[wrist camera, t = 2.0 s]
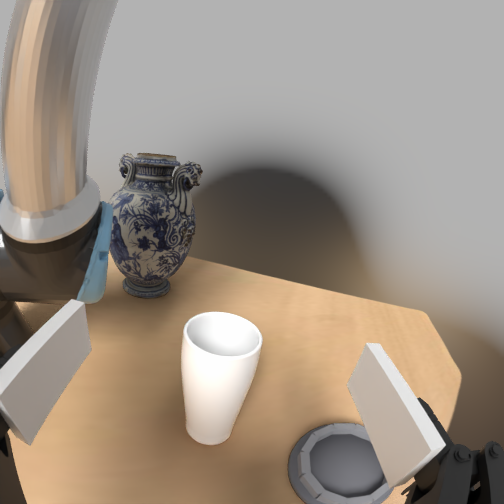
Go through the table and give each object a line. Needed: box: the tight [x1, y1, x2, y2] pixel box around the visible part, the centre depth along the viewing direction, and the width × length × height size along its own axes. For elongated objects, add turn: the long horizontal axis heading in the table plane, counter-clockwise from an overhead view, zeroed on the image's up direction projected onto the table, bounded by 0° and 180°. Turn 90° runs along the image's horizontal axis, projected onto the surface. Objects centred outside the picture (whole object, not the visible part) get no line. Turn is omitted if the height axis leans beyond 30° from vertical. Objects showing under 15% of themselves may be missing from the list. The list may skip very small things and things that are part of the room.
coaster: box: [288, 423, 394, 504], centre depth 22 cm, size 14×14×2 cm
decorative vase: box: [108, 153, 203, 298], centre depth 52 cm, size 21×19×28 cm
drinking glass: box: [181, 312, 262, 445], centre depth 24 cm, size 7×7×15 cm
